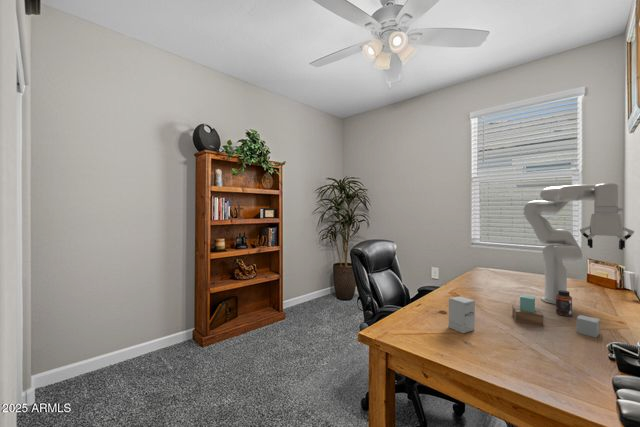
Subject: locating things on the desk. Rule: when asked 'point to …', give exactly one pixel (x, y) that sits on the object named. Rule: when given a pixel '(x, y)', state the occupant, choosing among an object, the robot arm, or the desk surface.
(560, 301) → the supplement bottle
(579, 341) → the desk surface
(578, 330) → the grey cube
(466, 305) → the supplement box
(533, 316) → the walnut block
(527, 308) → the teal cube
